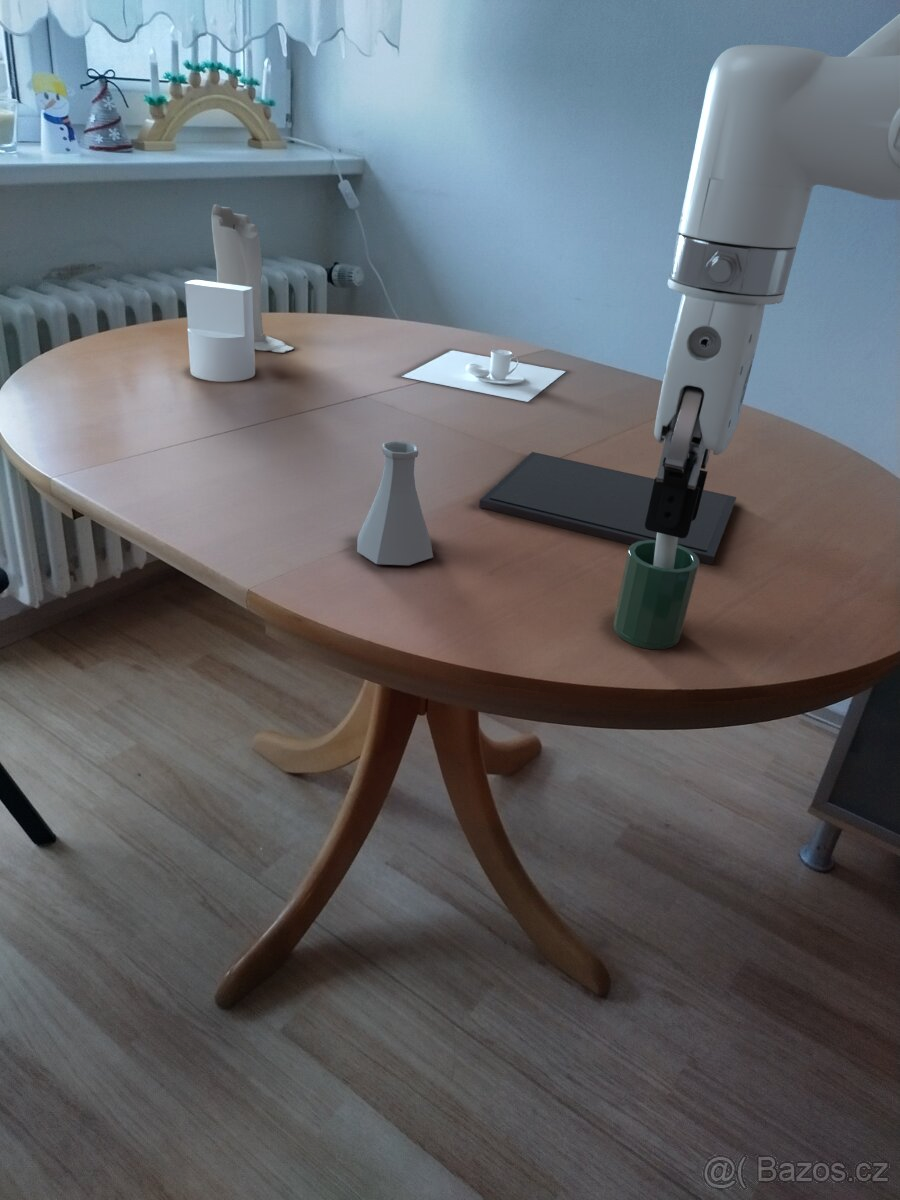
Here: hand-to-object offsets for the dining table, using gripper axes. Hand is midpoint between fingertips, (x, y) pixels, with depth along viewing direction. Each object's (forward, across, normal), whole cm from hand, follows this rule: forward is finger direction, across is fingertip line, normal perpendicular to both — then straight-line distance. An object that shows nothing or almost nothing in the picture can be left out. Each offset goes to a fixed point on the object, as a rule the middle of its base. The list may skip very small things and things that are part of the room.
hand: (670, 522), depth 66 cm
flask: (+10, +2, +24) cm, 26 cm away
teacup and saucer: (+10, +64, +39) cm, 76 cm away
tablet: (+10, +24, +9) cm, 27 cm away
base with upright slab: (+10, +39, +70) cm, 81 cm away
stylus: (+9, 0, -1) cm, 9 cm away
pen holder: (+10, 0, 0) cm, 10 cm away
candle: (+10, +56, +76) cm, 95 cm away
